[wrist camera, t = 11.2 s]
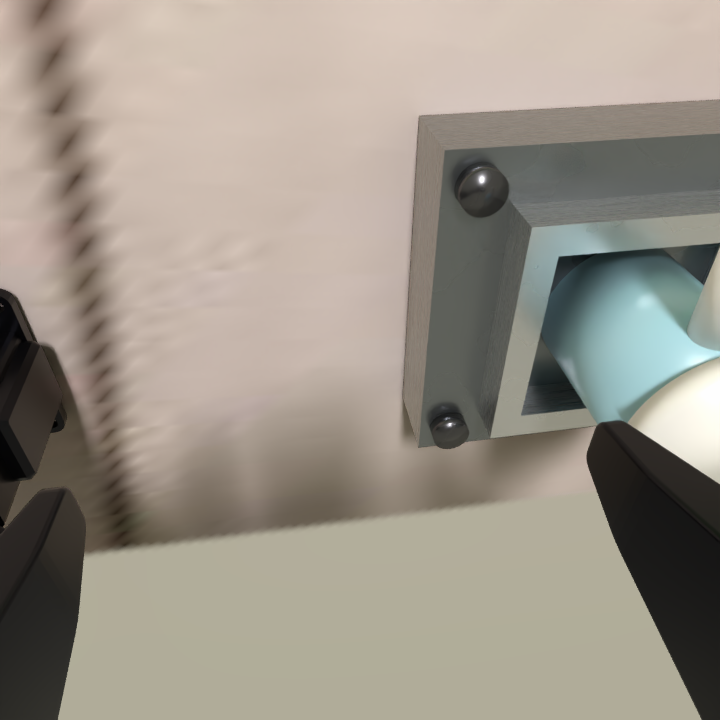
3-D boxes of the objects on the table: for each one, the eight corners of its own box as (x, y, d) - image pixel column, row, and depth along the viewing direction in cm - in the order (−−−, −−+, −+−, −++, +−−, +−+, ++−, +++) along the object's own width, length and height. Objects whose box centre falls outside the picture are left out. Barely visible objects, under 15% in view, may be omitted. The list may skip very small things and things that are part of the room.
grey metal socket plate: (402, 397, 26) (427, 476, 23) (419, 115, 18) (460, 171, 15) (675, 367, 28) (737, 437, 24) (794, 95, 20) (909, 142, 17)
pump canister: (524, 375, 22) (608, 523, 17) (567, 166, 17) (704, 290, 12) (659, 358, 23) (778, 496, 18) (739, 151, 18) (939, 263, 13)
